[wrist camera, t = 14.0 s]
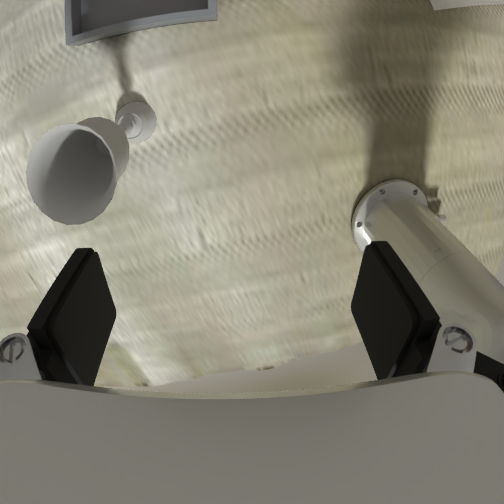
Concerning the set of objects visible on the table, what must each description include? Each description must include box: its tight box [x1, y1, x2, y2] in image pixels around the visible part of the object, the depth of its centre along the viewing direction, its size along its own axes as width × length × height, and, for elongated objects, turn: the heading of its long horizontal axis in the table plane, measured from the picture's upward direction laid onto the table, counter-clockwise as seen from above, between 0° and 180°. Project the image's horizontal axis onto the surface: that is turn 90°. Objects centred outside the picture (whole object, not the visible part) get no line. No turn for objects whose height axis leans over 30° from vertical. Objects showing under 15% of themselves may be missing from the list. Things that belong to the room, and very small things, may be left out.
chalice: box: [26, 102, 156, 225], centre depth 24 cm, size 7×7×18 cm
